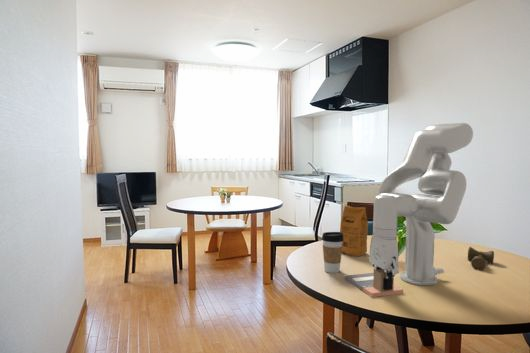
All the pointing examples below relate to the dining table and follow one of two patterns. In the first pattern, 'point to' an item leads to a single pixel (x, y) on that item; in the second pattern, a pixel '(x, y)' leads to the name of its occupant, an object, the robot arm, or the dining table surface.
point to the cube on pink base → (381, 285)
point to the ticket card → (361, 280)
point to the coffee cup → (332, 251)
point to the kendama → (480, 258)
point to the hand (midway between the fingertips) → (383, 286)
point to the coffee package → (354, 231)
